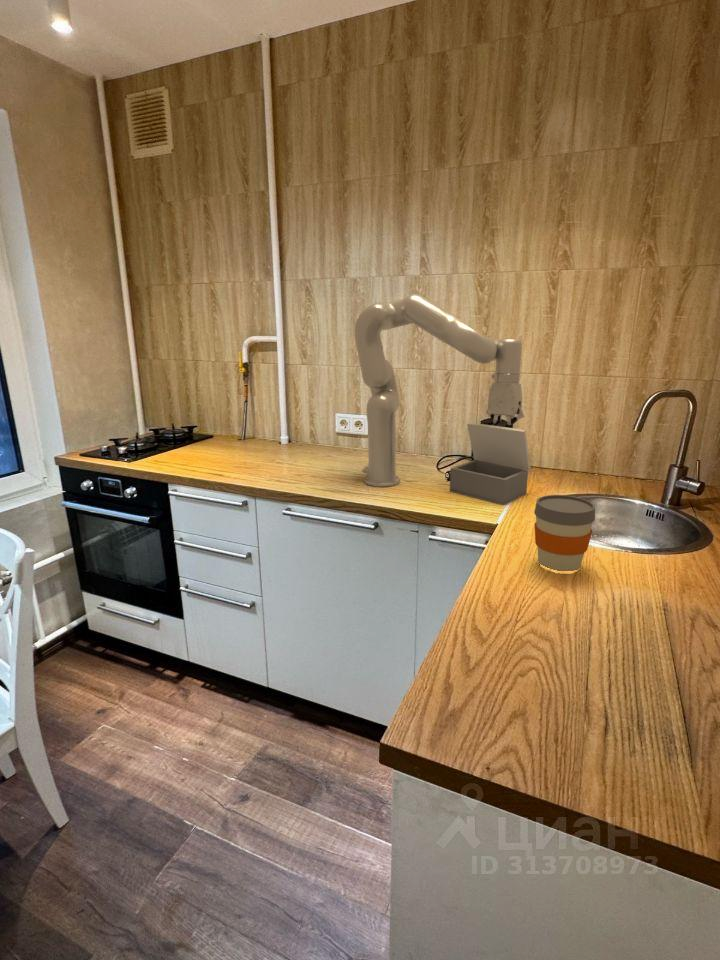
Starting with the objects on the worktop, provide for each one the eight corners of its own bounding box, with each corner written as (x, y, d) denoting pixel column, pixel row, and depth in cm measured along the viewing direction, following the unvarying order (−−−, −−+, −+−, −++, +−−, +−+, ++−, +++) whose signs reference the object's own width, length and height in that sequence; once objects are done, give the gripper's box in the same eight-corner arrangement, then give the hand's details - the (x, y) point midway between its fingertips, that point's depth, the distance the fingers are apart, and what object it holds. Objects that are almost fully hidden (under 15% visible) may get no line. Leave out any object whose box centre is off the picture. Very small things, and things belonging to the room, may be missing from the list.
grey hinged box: (449, 491, 170) (450, 468, 167) (473, 482, 179) (474, 460, 177) (503, 505, 156) (505, 480, 154) (526, 494, 166) (528, 470, 163)
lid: (466, 423, 170) (476, 414, 173) (474, 459, 177) (483, 450, 180) (523, 431, 156) (533, 421, 159) (529, 470, 163) (537, 460, 166)
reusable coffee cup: (583, 583, 109) (591, 517, 104) (523, 569, 115) (528, 507, 111) (592, 560, 119) (600, 499, 114) (537, 549, 125) (542, 491, 121)
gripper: (478, 378, 165) (475, 434, 171) (525, 381, 154) (520, 441, 160) (490, 376, 170) (487, 430, 176) (536, 379, 159) (531, 437, 165)
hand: (503, 435), depth 168 cm, fingers closed on lid, 3 cm apart
